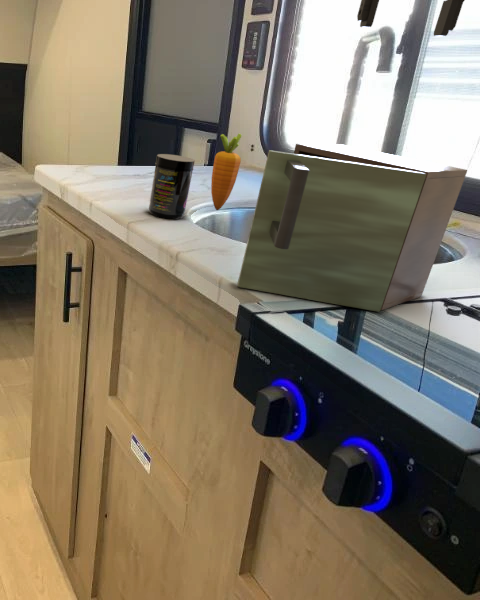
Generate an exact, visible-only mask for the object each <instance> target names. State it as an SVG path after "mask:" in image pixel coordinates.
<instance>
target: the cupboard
mask: <svg viewBox="0 0 480 600" xmlns="http://www.w3.org/2000/svg"><path fill="white" fill-rule="evenodd" d="M293 154H300V155H306V156H313V157H320V158H327V159H334V160H341V161H347V162H354V163H361V164H368V165H375V166H382V167H389V168H395V169H402V170H409V171H416V172H423V173H425V174H426V177H425V180H424V183H423V186H422V189H421V192H420V195H419V198H418V201H417V204H416V207H415V210H414V213H413V216H412V219H411V221H410V224H409V227H408V230H407V233H406V236H405V239H404V242H403V245H402V248H401V251H400V254H399V257H398V260H397V263H396V266H395V269H394V272H393V274H392V277H391V280H390V283H389V286H388V289H387V292H386V295H385V298H384V301H383V304H382V307H381V310H380V311H384V310H387V309H389V308H393V307H395V306H398V305H401V304H404V303H406V302H409V301H412V300H415V299H419V298H421V297H422V296H423V293H424V290H425V288H426V285H427V283H428V279H429V277H430V275H431V271H432V269H433V266H434V263H435V260H436V258H437V255H438V253H439V250H440V247H441V244H442V241H443V239H444V236H445V233H446V230H447V228H448V224H449V222H450V219H451V217H452V214H453V211H454V208H455V207H456V203H457V200H458V199H459V198H458V197H459V195H460V192H461V189H462V187H463V185H464V181H465V179H466V175H467V173H468V169H465V168H460V167H454V166H451V165H444V164H440V163H437V162H436V163H435V162H430V161H426V160H420V159H417V158H416V159H415V158H410V157H405V156H400V155H396V154H390V153H386V152H380V151H375V150H370V149H366V148H360V147H356V146H350V145H346V144H341V143H340V144H338V143H337V144H336V143H335V144H334V143H295V146H294V151H293Z"/></svg>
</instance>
